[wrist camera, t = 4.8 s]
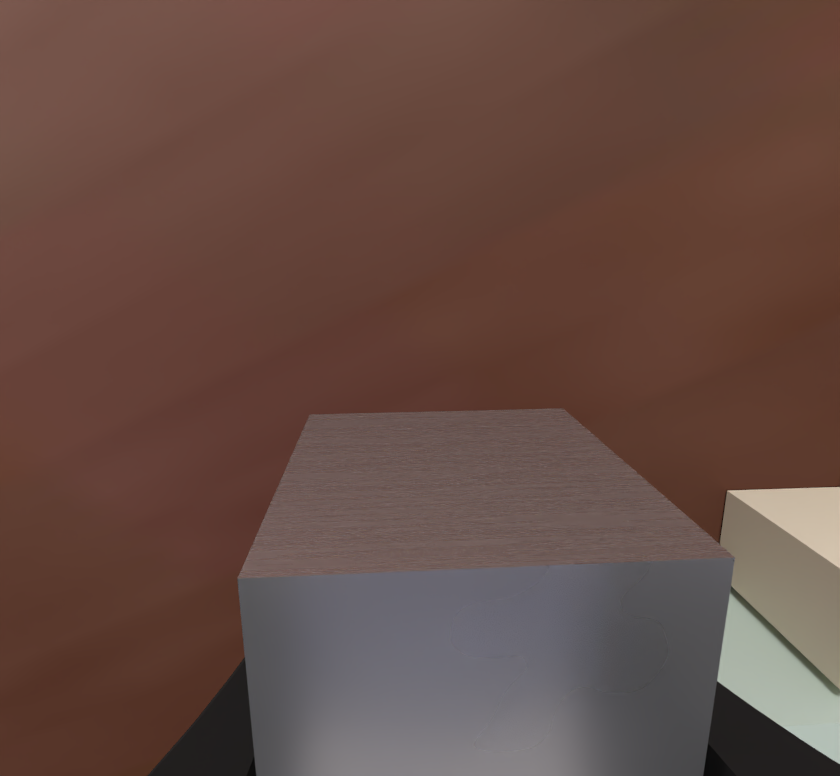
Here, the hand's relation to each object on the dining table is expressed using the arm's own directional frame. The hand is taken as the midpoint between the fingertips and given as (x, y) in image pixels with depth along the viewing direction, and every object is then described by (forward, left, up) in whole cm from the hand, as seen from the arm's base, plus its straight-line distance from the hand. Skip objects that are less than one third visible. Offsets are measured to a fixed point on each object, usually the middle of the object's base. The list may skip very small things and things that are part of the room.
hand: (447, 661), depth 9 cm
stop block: (0, 0, -1) cm, 1 cm away
